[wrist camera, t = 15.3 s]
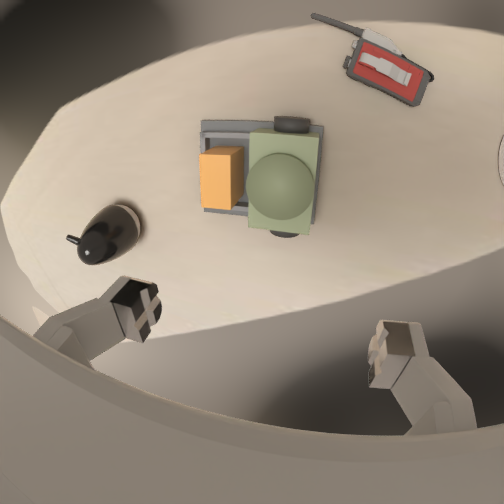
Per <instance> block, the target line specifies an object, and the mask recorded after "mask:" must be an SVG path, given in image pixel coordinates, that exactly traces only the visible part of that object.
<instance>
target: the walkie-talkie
mask: <svg viewBox="0 0 504 504" xmlns="http://www.w3.org/2000/svg"><path fill="white" fill-rule="evenodd" d="M311 18H312V19H315V20H319V21H321V22H324V23H327V24H330V25H333V26H336V27H339V28H341V29H344V30H347V31H349V32H352V33H354V34H355V35H357V36H360V37H362V38H361V39H359V40H357V41H356V40H354V42H353V45H352V47H353V48H354V49H355V50H354V52H353V56H352V58H351V57H350V56H347V57H346V60H345V62H344V65H343V68H347V67H348V69H347V72H346V74H347V75H348V76H349V77H351V78H352V79H354V80H358V81H360V82H363V83H364V84H365V85H367V86H371V87H373V88H377V89H378V90H381V91H383V92H384V93H387V94H388V95H390V96H393V97H394V98H397V100H400V101H402V102H403V103H406V104H407V105H409V106H417V105H419V104H420V103H421V100H422V98H423V95H424V92H425V90H426V87H427V84H428V82H432V81H433V80H434V75H433V74H432V73H431V72H429V71H428V70H426V69H424V68H423V67H421V66H419V65H417V64H416V63H414V62H412V61H410V60H409V59H407V58H406V57H405V56H404V55H403V54H402V52H401V51H399V50H398V49H397V47H396V46H395V44H394V43H393V41H392V40H391V39H389V38H387V37H385V36H383V35H381V34H379V33H376V32H374V31H372V30H371V29H369V28H367V27H366V29H365V30H363V29H360V28H358V27H353V26H350V25H348V24H345V23H342V22H340V21H337V20H334V19H331V18H328V17H325V16H322V15H319V14H315V13H312V14H311ZM350 58H351V59H350ZM430 76H431V79H430Z"/></svg>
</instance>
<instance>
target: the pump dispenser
mask: <svg viewBox="0 0 504 504" xmlns="http://www.w3.org/2000/svg"><path fill="white" fill-rule="evenodd" d="M139 234H140V222H139V219H138V217H137V215H136V214H135V213H134V211H133V210H131V209H130V208H129V207H127V206H124V205H109V206H106V207H105V208H103V209H102V210H101V211H99V212H98V213H97V214H96V215H95V216H94V217H93V218H92V220H91V221H90V222H89V223H88V225H87V226H86V228H85V229H84V231H83V233H82V235H81V237H80V238H78V237H75V236H72V235H67V238H66V239H67V240H68V241H70V242H72V243H74V244H75V245H77V253H78V256H79V258H80V259H81V261H82V262H84V263H85V264H87V265H100V264H104V263H107V262H110V261H112V260H115V259H117V258H119V257H120V256H122V255H124V254H125V253H127V252H128V251H130V250H131V249H132V248H133V247H134V246H135V245H136V243H137V240H138V237H139Z"/></svg>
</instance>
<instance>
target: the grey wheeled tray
mask: <svg viewBox="0 0 504 504" xmlns="http://www.w3.org/2000/svg"><path fill="white" fill-rule="evenodd" d="M309 122H310V119H307V118H300V117H287V116H276V117H274V122H269V121H246V120H202V121H201V132H200V150H201V153H203V152H205V151H207V150H209V149H211V148H213V147H215V146H243V147H244V194H243V196H242V197H241V198H240V199H239V201H238V202H237V203H236V204H235V205H234V207H233V208H232V209H231V210H224V209H214V208H204V212H213V213H222V214H231V215H241V216H248V227H250V228H258V229H266V230H270V232H271V233H272V234H273V235H276V236H278V237H284V238H290V237H295V236H297V235H299V234H304V235H309V232H310V224H314V217H315V209H316V200H317V191H318V181H319V171H320V161H321V149H322V137H323V126H317V125H309Z"/></svg>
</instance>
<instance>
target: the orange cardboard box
mask: <svg viewBox="0 0 504 504" xmlns="http://www.w3.org/2000/svg"><path fill="white" fill-rule="evenodd" d="M199 163H200V186H201V205H202V207H204V208H214V209H224V210H231V209H232V208H233V207H234V205H235V204H236V203H237V202H238V201H239V199H240V198H241V197H242V196H243V194H244V147H243V146H215V147H213V148H211V149H209V150H207V151H205V152H203V153H201V154H199Z"/></svg>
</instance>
